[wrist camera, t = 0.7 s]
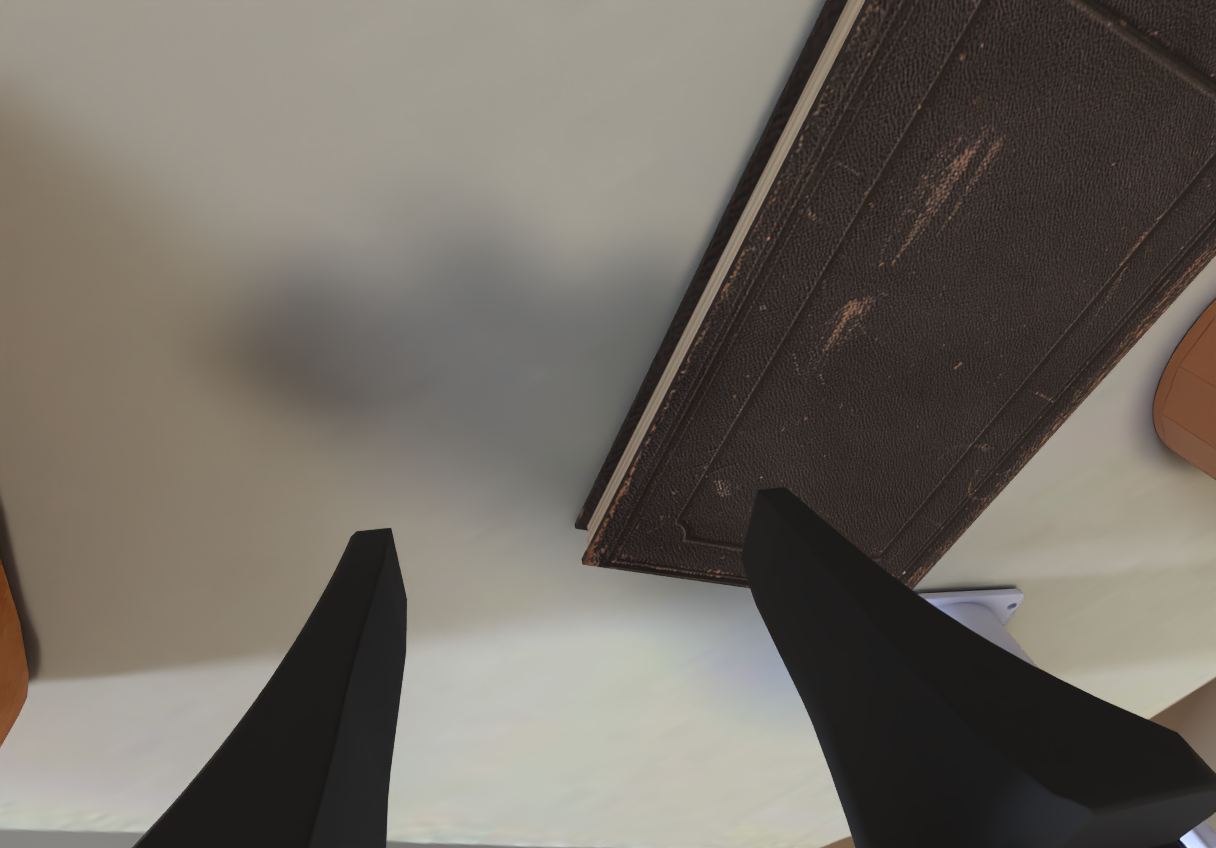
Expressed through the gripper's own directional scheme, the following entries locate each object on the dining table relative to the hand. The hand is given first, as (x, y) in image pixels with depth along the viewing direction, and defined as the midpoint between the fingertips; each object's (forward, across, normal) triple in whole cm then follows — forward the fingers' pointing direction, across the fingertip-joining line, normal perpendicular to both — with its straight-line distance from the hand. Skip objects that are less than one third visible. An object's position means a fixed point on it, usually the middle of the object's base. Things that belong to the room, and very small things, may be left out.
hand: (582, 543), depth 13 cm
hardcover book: (+10, -13, +1) cm, 16 cm away
